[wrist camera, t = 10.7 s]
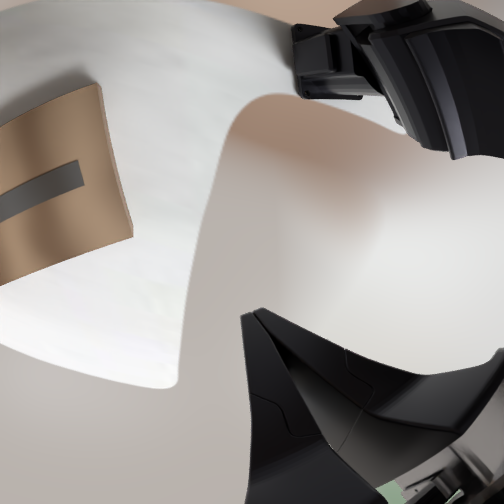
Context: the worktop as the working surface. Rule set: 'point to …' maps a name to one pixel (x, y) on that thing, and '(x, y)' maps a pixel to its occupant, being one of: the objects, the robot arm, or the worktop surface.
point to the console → (58, 185)
